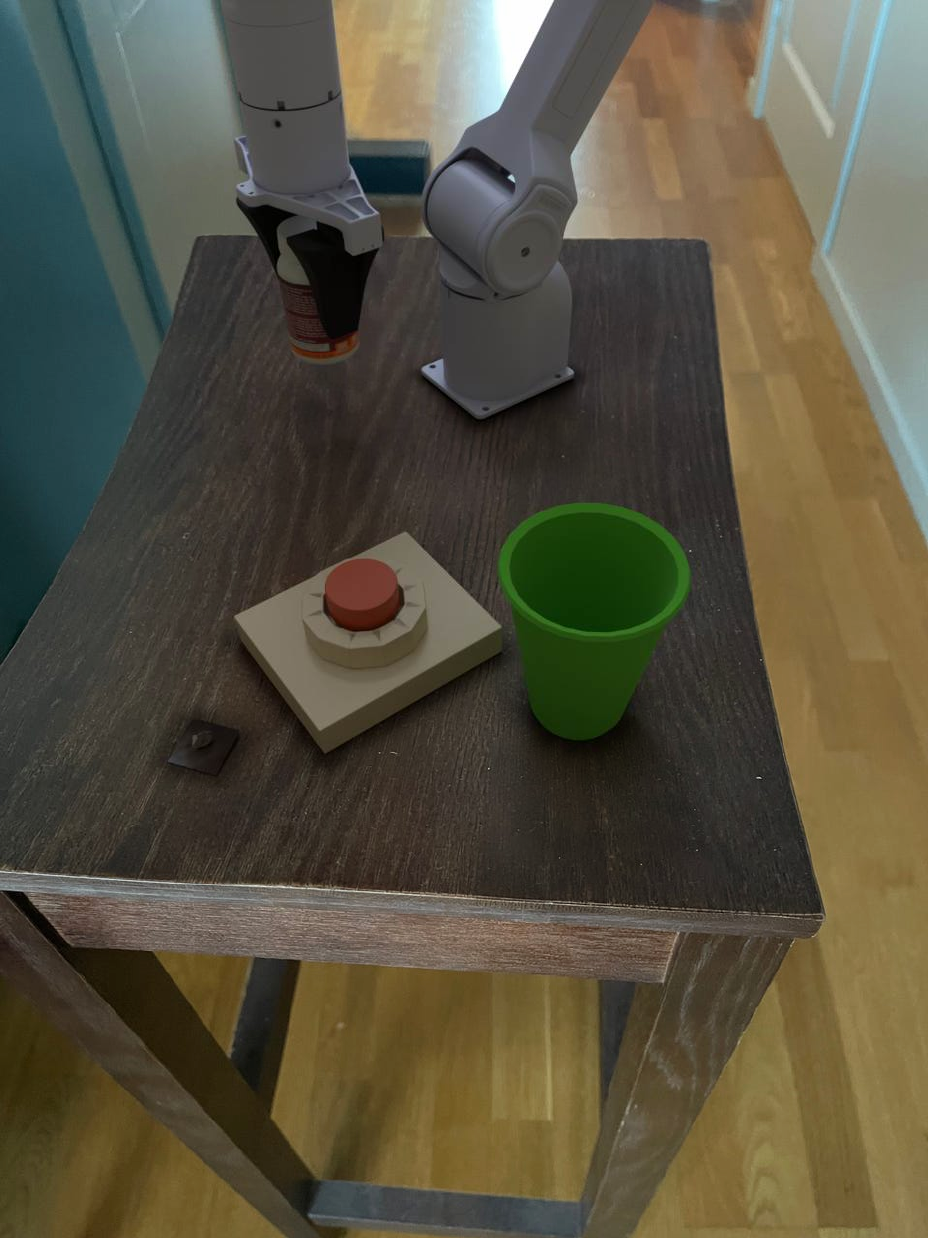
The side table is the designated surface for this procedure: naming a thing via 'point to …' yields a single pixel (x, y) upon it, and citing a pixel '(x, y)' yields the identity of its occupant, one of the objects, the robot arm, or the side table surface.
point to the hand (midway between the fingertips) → (322, 314)
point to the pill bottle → (306, 305)
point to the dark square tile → (204, 746)
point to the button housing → (368, 645)
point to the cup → (589, 609)
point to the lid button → (362, 594)
